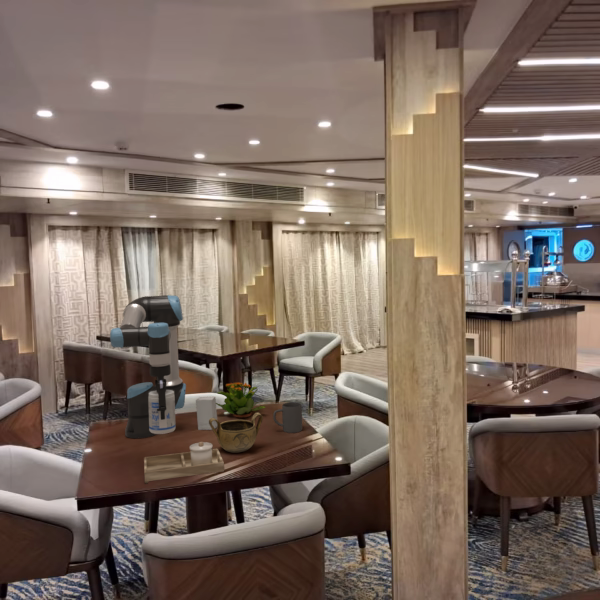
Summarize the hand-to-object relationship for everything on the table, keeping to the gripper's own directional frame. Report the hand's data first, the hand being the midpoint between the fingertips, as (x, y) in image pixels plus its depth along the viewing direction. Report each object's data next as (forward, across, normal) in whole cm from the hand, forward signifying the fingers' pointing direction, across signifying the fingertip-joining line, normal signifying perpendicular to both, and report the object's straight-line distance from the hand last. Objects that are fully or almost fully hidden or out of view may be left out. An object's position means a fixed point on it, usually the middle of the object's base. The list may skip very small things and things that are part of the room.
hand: (162, 424), depth 206 cm
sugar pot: (+18, 0, +14) cm, 23 cm away
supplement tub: (+3, 0, 0) cm, 3 cm away
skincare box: (+19, -52, +22) cm, 60 cm away
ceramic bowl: (+19, -15, +30) cm, 38 cm away
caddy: (+19, 0, +7) cm, 20 cm away
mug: (+19, -34, +57) cm, 69 cm away
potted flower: (+19, -68, +42) cm, 82 cm away
